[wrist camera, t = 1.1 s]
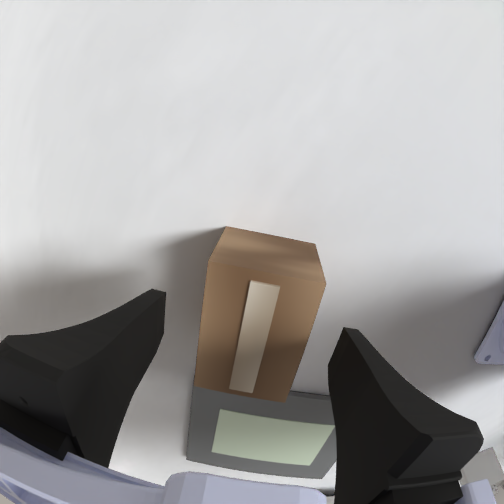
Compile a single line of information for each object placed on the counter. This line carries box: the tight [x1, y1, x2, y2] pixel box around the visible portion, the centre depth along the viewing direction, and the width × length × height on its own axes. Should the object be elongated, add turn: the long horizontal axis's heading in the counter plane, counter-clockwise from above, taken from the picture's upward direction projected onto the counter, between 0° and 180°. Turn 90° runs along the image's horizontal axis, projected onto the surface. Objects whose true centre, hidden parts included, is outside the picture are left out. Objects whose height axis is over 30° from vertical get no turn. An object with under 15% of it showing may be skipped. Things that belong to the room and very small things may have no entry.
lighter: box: [459, 447, 504, 496], centre depth 17 cm, size 7×2×8 cm, turn 100°
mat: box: [186, 376, 337, 479], centre depth 19 cm, size 11×10×1 cm
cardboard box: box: [194, 226, 326, 403], centre depth 14 cm, size 4×6×4 cm, turn 170°
